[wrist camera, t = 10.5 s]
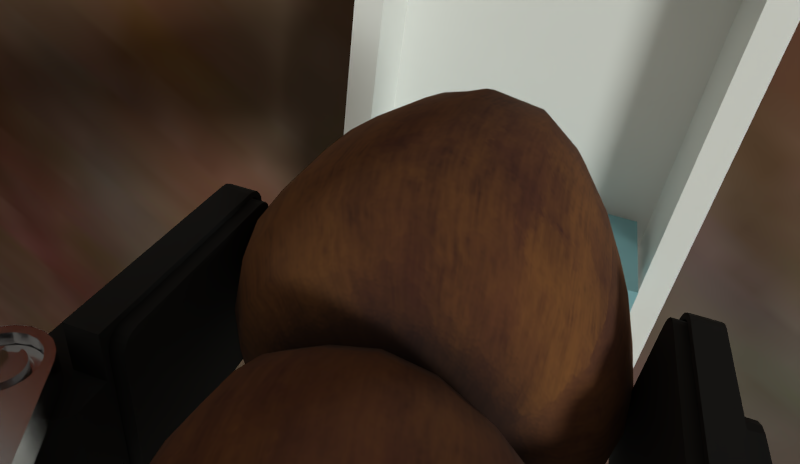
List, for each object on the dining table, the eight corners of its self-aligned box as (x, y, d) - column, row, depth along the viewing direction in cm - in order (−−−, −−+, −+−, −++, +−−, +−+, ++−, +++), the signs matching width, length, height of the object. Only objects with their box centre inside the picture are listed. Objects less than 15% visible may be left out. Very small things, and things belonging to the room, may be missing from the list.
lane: (807, -85, 19) (842, -71, 16) (571, 446, 34) (565, 510, 30) (406, -151, 22) (367, -150, 18) (347, 371, 36) (319, 424, 33)
